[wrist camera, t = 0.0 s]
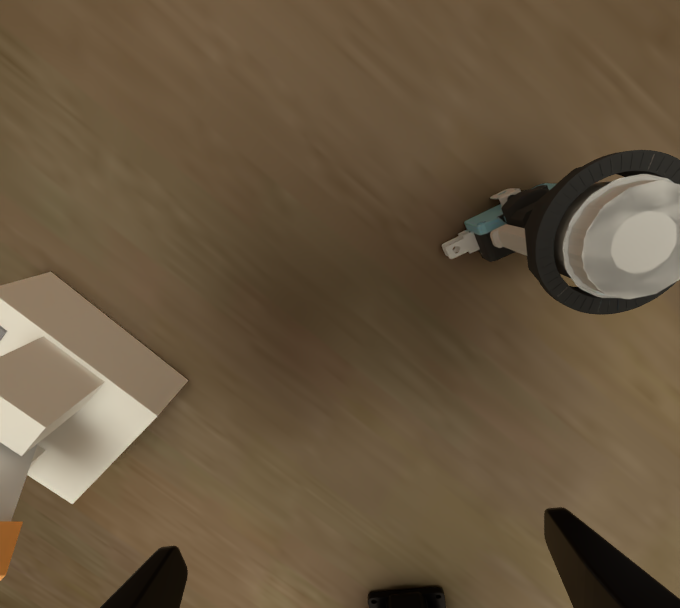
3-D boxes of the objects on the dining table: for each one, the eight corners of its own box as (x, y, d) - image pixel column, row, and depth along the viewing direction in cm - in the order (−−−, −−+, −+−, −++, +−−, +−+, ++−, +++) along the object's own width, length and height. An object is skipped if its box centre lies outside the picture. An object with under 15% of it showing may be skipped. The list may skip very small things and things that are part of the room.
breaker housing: (188, 380, 24) (112, 467, 17) (112, 459, 27) (16, 566, 19) (50, 271, 22) (-108, 315, 15) (-18, 368, 25) (-183, 449, 17)
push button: (456, 286, 21) (538, 365, 12) (423, 206, 20) (485, 222, 10) (565, 237, 20) (752, 281, 11) (538, 148, 19) (726, 108, 9)
